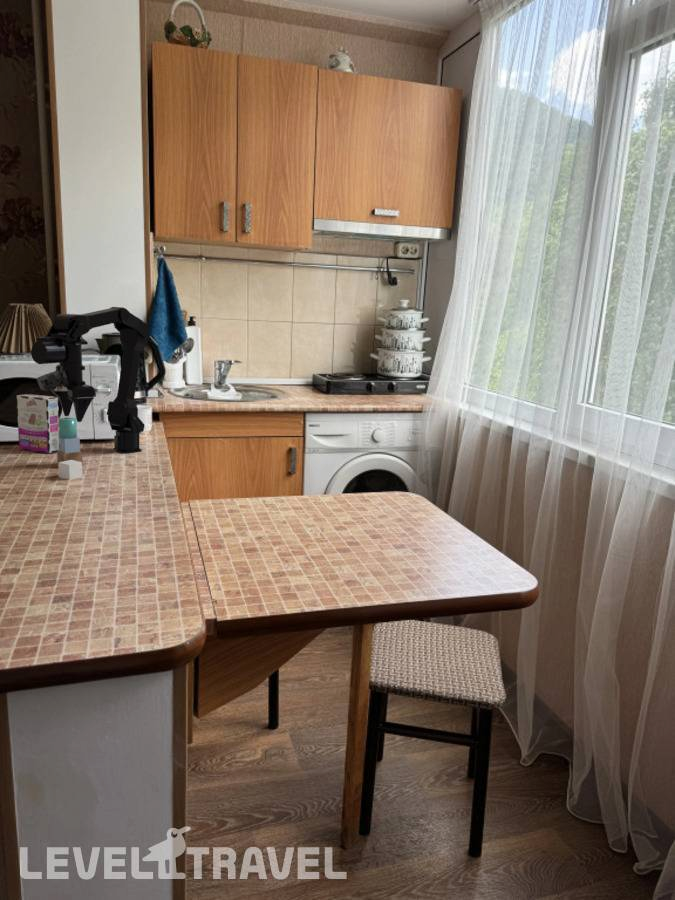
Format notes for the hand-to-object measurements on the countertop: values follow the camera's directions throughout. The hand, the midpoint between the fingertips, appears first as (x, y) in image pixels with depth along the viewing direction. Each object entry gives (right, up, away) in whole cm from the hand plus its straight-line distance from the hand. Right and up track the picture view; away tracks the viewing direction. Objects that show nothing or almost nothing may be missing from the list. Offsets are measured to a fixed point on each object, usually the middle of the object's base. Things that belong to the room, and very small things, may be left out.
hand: (72, 418), depth 176 cm
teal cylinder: (-1, -5, 0) cm, 5 cm away
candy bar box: (-16, -9, +16) cm, 24 cm away
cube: (+4, -16, -10) cm, 19 cm away
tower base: (-1, -13, +1) cm, 13 cm away
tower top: (-1, -9, 0) cm, 9 cm away
